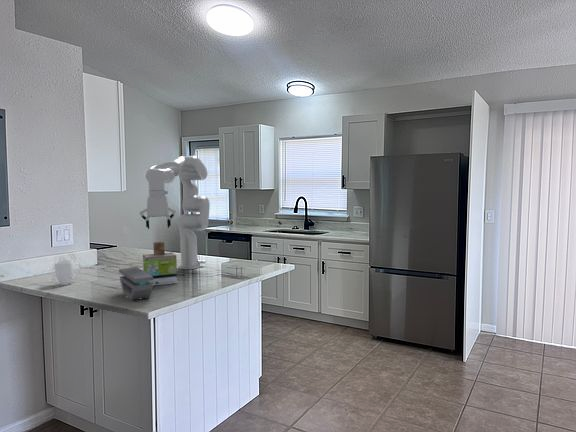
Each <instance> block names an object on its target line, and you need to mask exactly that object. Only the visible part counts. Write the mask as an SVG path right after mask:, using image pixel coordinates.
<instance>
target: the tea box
mask: <svg viewBox="0 0 576 432" xmlns="http://www.w3.org/2000/svg"><path fill="white" fill-rule="evenodd" d="M177 263H178V262H177V255H176V254H175V253H174V252H165V255H156V256H154V253H148V254H147V253H145V254H142V271H144V272H146V273H148V274H150V275H151V276H153V280H150V281H149V282H151V283H153V286H161V285H163V286H164V285H170V284H171V285H172V283H175V284H177V283H178V272H177V271H178V268H177V265H178V264H177Z"/></svg>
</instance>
